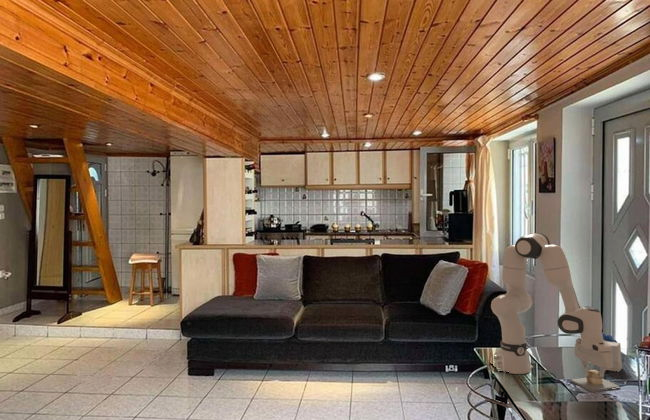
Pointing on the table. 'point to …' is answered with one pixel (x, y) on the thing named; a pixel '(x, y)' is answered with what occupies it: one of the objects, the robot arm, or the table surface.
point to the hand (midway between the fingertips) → (593, 373)
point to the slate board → (593, 388)
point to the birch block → (593, 377)
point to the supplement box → (616, 356)
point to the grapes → (608, 338)
